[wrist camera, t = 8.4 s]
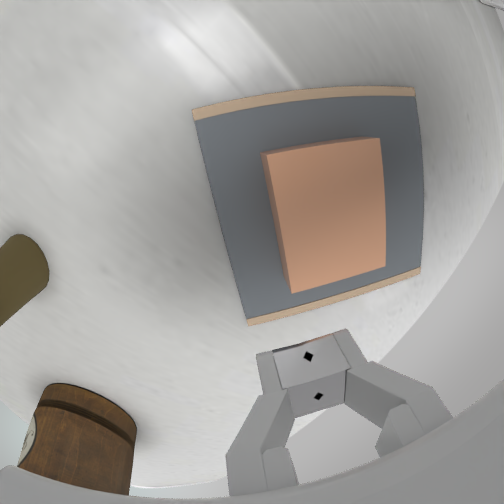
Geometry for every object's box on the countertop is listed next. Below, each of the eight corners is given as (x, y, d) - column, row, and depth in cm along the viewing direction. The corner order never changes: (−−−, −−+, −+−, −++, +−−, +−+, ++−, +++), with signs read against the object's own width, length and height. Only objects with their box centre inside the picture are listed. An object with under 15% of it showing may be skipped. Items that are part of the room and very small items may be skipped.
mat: (410, 87, 17) (414, 87, 17) (417, 271, 25) (420, 273, 24) (192, 110, 17) (191, 109, 16) (247, 322, 24) (248, 326, 24)
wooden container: (28, 373, 25) (-20, 503, 5) (122, 392, 27) (100, 562, 7) (66, 429, 30) (45, 534, 10) (146, 445, 33) (142, 565, 13)
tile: (259, 152, 18) (362, 136, 18) (283, 277, 22) (370, 253, 23) (266, 154, 16) (379, 138, 16) (291, 293, 20) (385, 266, 20)
